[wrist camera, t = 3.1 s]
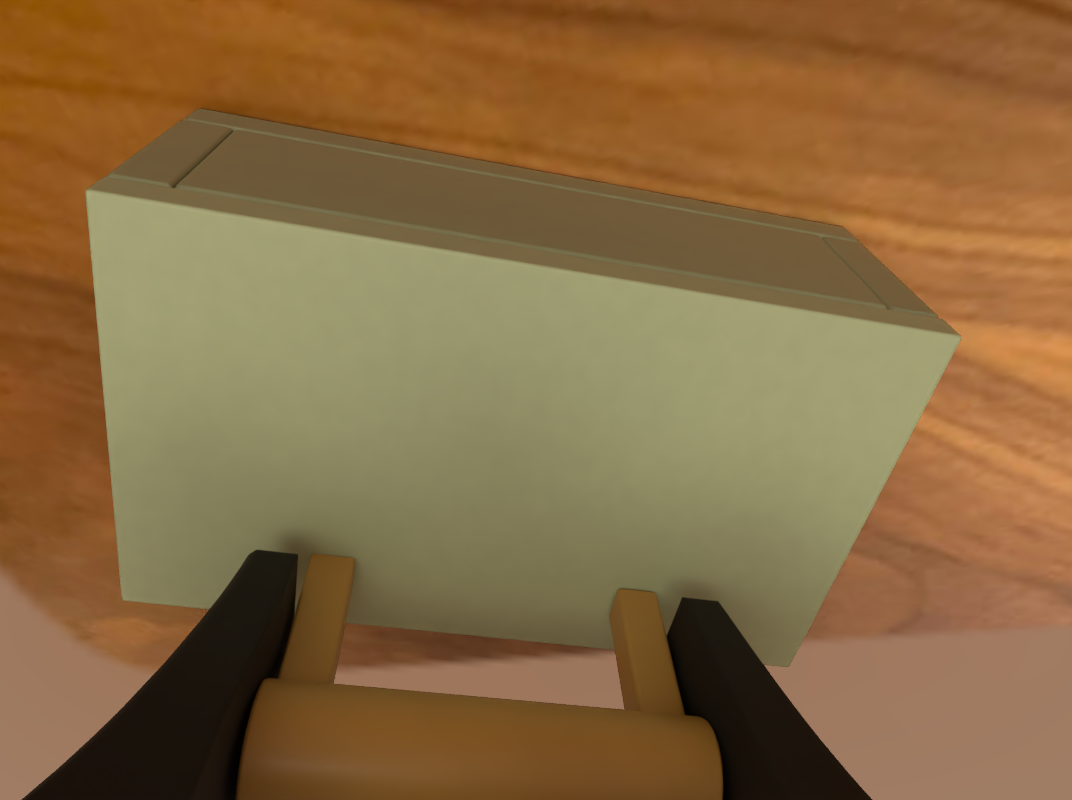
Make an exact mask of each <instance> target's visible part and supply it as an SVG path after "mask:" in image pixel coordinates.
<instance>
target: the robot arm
mask: <svg viewBox="0 0 1072 800" xmlns="http://www.w3.org/2000/svg"><path fill="white" fill-rule="evenodd" d="M297 566H298V554H292V553H283V552H274V551H265V550H255V551H253V552H252V553H250V554H249V555H248V556H247V558H246V559H245V561H244V562H243V564H242V566H241V567H240V569H239V570H238V571H237V573H236V574H235V576H234V577H233V579H232V580H231V582H230V583H229V584H228V586H227V587H226V588H225V590H224V591H223V592H222V594H221V595H220V596H219V598H218V599H217V600H216V602H215V603H214V604H213V605H212V607H211V608H210V609H209V611H208V612H207V613H206V614H205V616H204V617H203V618H202V619H201V621H200V622H199V623H198V624H197V625H196V627H195V628H194V629H193V630H192V631H191V633H190V634H189V635H188V636H187V637H186V638H185V640H184V641H183V642H182V643H181V644H180V646H179V647H178V648H177V649H176V650H175V651H174V653H173V654H172V655H171V656H170V657H169V658H168V660H167V661H166V662H165V663H164V664H163V665H162V666H161V667H160V668H159V669H158V671H157V672H156V673H155V674H154V675H153V676H152V677H151V678H150V679H149V680H148V681H147V682H146V683H145V684H144V685H143V686H142V688H141V689H140V690H139V691H138V692H137V693H136V694H135V695H134V696H133V697H132V698H131V699H130V700H129V701H128V702H127V703H126V705H125V706H124V707H123V708H122V709H121V710H120V711H119V712H118V713H117V714H116V715H115V716H114V717H113V718H112V719H111V720H110V721H109V722H108V723H107V724H105V725H104V727H102V728H101V729H100V730H99V731H98V732H97V733H96V734H95V735H94V736H93V737H92V738H91V739H90V740H89V741H88V742H87V743H86V744H85V745H83V747H81V748H80V749H79V750H78V751H77V752H76V753H75V754H74V755H72V757H70V758H69V759H68V760H67V761H66V762H65V763H64V764H63V765H62V766H60V767H59V768H58V769H57V770H56V771H55V772H54V773H52V774H51V775H50V776H49V777H48V778H46V779H45V780H44V781H43V782H42V783H41V784H39V785H38V786H37V787H36V788H35V789H34V790H32V791H31V792H30V793H29V794H28V795H27V796H25V797H24V798H23V799H22V800H235V796H236V783H237V775H238V768H239V762H240V756H241V750H242V745H243V740H244V736H245V731H246V727H247V722H248V718H249V715H250V711H251V707H252V704H253V701H254V698H255V695H256V692H257V690H258V688H259V686H260V684H261V682H262V681H263V680H264V679H267V678H275V679H278V675H279V671H280V667H281V664H282V660H283V656H284V653H285V649H286V645H287V641H288V638H289V634H290V630H291V627H292V623H293V619H294V614H295V598H296V582H297ZM667 641H668V645H669V649H670V653H671V657H672V662H673V666H674V670H675V674H676V678H677V683H678V687H679V691H680V695H681V699H682V704H683V708H684V712H685V715H688V716H699V717H702V718H703V719H705V720H707V721H708V722H709V724H710V725H711V726H712V728H713V730H714V732H715V735H716V738H717V741H718V744H719V749H720V754H721V760H722V769H723V800H872V799H871V798H870V797H869V796H868V795H867V793H865V791H864V790H863V789H862V788H861V787H860V786H859V785H858V783H857V782H856V781H855V780H854V779H853V778H852V777H851V776H850V774H849V773H848V772H847V771H846V770H845V769H844V767H843V766H842V765H841V764H840V763H839V761H838V760H837V759H836V758H835V757H834V755H833V754H832V753H831V752H830V751H829V749H828V748H827V747H826V746H825V745H824V744H823V742H822V741H821V740H820V739H819V737H818V736H817V735H816V734H815V732H814V731H813V730H812V729H811V727H810V726H809V725H808V724H807V722H806V721H805V720H804V718H803V717H802V716H801V715H800V713H799V712H798V711H797V709H796V708H795V707H794V705H793V704H792V703H791V702H790V700H789V699H788V697H787V696H786V695H785V694H784V692H783V691H782V689H781V688H780V687H779V685H778V684H777V683H776V682H775V680H774V679H773V677H772V676H771V675H770V673H769V672H768V671H767V669H766V667H765V666H764V665H763V663H762V662H761V661H760V659H759V658H758V656H757V655H756V654H755V652H754V651H753V649H752V648H751V646H750V645H749V644H748V642H747V641H746V639H745V638H744V637H743V635H742V634H741V632H740V631H739V630H738V628H737V627H736V625H735V624H734V622H733V621H732V620H731V618H730V617H729V615H728V614H727V613H726V611H725V610H724V608H723V607H722V606H721V604H720V603H719V601H712V600H703V599H694V598H685V597H682V599H681V601H680V604H679V606H678V609H677V611H676V614H675V616H674V619H673V621H672V624H671V626H670V629H669V631H668V634H667Z"/></svg>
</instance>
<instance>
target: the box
mask: <svg viewBox="0 0 1072 800" xmlns="http://www.w3.org/2000/svg"><path fill="white" fill-rule="evenodd" d="M108 177H111V178H117V179H123V180H129V181H135V182H141V183H147V184H152V185H158V186H164V187H170V188H176V189H182V190H188V191H194V192H199V193H205V194H211V195H217V196H223V197H229V198H235V199H241V200H246V201H252V202H258V203H264V204H270V205H276V206H282V207H288V208H293V209H299V210H305V211H311V212H317V213H323V214H329V215H335V216H340V217H346V218H352V219H358V220H364V221H370V222H376V223H381V224H387V225H393V226H399V227H405V228H411V229H417V230H423V231H428V232H434V233H440V234H446V235H452V236H458V237H464V238H470V239H475V240H481V241H487V242H493V243H499V244H505V245H511V246H517V247H522V248H528V249H534V250H540V251H546V252H552V253H558V254H564V255H569V256H575V257H581V258H587V259H593V260H599V261H605V262H610V263H616V264H622V265H628V266H634V267H640V268H646V269H652V270H657V271H663V272H669V273H675V274H681V275H687V276H693V277H699V278H704V279H710V280H716V281H722V282H728V283H734V284H740V285H746V286H751V287H757V288H763V289H769V290H775V291H781V292H787V293H793V294H798V295H804V296H810V297H816V298H822V299H828V300H834V301H839V302H845V303H851V304H857V305H863V306H869V307H875V308H881V309H886V310H892V311H898V312H904V313H910V314H916V315H922V316H928V317H933V318H938V317H937V315H936V314H935V313H934V312H933V311H932V310H931V309H930V308H929V307H928V306H927V305H926V304H925V303H924V302H923V301H922V300H921V299H920V298H918V297H917V296H916V295H915V294H914V293H913V292H912V291H911V290H910V289H909V288H908V287H907V286H906V285H905V284H904V283H903V282H902V281H901V280H899V279H898V278H897V277H896V276H895V275H894V274H893V273H892V272H891V271H890V270H889V269H888V268H887V267H886V266H885V265H884V264H883V263H881V262H880V261H879V260H878V259H877V258H876V257H875V256H874V255H873V254H872V253H871V252H870V251H869V250H868V249H867V248H866V247H865V246H863V245H862V244H861V243H859V241H858V240H857V239H856V238H855V237H854V236H853V235H852V234H851V233H850V232H849V231H847V230H846V229H845V228H844V227H840V226H834V225H829V224H824V223H818V222H813V221H807V220H802V219H796V218H791V217H786V216H780V215H775V214H769V213H764V212H759V211H753V210H748V209H742V208H737V207H731V206H726V205H721V204H715V203H710V202H704V201H699V200H694V199H688V198H683V197H677V196H672V195H666V194H661V193H656V192H650V191H645V190H639V189H634V188H628V187H623V186H618V185H612V184H607V183H601V182H596V181H591V180H585V179H580V178H574V177H569V176H563V175H558V174H553V173H547V172H542V171H536V170H531V169H525V168H520V167H515V166H509V165H504V164H498V163H493V162H488V161H482V160H477V159H471V158H466V157H460V156H455V155H450V154H444V153H439V152H433V151H428V150H423V149H417V148H412V147H406V146H401V145H395V144H390V143H385V142H379V141H374V140H368V139H363V138H357V137H352V136H347V135H341V134H336V133H330V132H325V131H320V130H314V129H309V128H303V127H298V126H292V125H287V124H282V123H276V122H271V121H265V120H260V119H254V118H249V117H244V116H238V115H233V114H227V113H222V112H217V111H211V110H206V109H197V110H196V111H194V112H193V113H192V114H190V115H189V116H188V117H186V118H185V119H184V120H181V121H179V122H178V123H177V124H175V125H174V126H173V127H171V128H170V129H169V130H167V131H166V132H165V133H163V134H162V135H161V136H159V137H158V138H156V139H155V140H154V141H152V142H151V143H150V144H148V145H147V146H146V147H144V148H143V149H142V150H140V151H139V152H138V153H136V154H135V155H133V156H132V157H131V158H129V159H128V160H127V161H125V162H124V163H123V164H121V165H120V166H119V167H117V168H116V169H115V170H113V171H112V172H111V173H109V175H108Z"/></svg>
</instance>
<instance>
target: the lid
mask: <svg viewBox="0 0 1072 800" xmlns="http://www.w3.org/2000/svg"><path fill="white" fill-rule="evenodd" d="M86 203H87V215H88V226H89V237H90V248H91V259H92V270H93V282H94V293H95V304H96V315H97V326H98V338H99V349H100V360H101V371H102V382H103V393H104V405H105V416H106V427H107V438H108V449H109V460H110V472H111V483H112V494H113V505H114V516H115V528H116V539H117V550H118V561H119V572H120V583H121V595H122V600H124V601H133V602H142V603H152V604H162V605H172V606H182V607H192V608H202V609H210V608H211V607H212V605H213V604H214V603H215V602H216V600H217V599H218V598H219V596H220V595H221V594H222V592H223V591H224V590H225V588H226V587H227V586H228V584H229V583H230V582H231V580H232V579H233V577H234V576H235V574H236V573H237V571H238V570H239V569H240V567H241V566H242V564H243V562H244V561H245V559H246V558H247V556H248V555H249V554H250V553H252V552H253V551H255V550H265V551H274V552H283V553H292V554H298V566H297V582H296V598H295V614H294V619H293V623H292V627H291V630H290V634H289V638H288V641H287V645H286V649H285V653H284V656H283V660H282V664H281V667H280V671H279V675H278V679H275V678H267V679H264V680H263V681H262V682H261V684H260V686H259V688H258V690H257V692H256V695H255V698H254V701H253V704H252V707H251V711H250V715H249V718H248V722H247V727H246V731H245V736H244V740H243V745H242V750H241V756H240V762H239V768H238V775H237V783H236V796H235V800H723V769H722V760H721V754H720V749H719V744H718V741H717V738H716V735H715V732H714V730H713V728H712V726H711V725H710V724H709V722H708V721H707V720H705V719H703V718H702V717H699V716H688V715H685V712H684V708H683V704H682V699H681V695H680V691H679V687H678V683H677V678H676V674H675V670H674V666H673V662H672V657H671V653H670V649H669V645H668V641H667V634H668V631H669V629H670V626H671V624H672V621H673V619H674V616H675V614H676V611H677V609H678V606H679V604H680V601H681V599H682V597H685V598H694V599H703V600H712V601H719V603H720V604H721V606H722V607H723V608H724V610H725V611H726V613H727V614H728V615H729V617H730V618H731V620H732V621H733V622H734V624H735V625H736V627H737V628H738V630H739V631H740V632H741V634H742V635H743V637H744V638H745V639H746V641H747V642H748V644H749V645H750V646H751V648H752V649H753V651H754V652H755V654H756V655H757V656H758V658H759V659H760V661H761V662H762V663H763V665H772V666H782V667H789V666H790V664H791V662H792V660H793V658H794V656H795V655H796V653H797V651H798V649H799V647H800V645H801V643H802V641H803V639H804V637H805V635H806V634H807V632H808V630H809V628H810V626H811V624H812V622H813V620H814V618H815V616H816V615H817V613H818V611H819V609H820V607H821V605H822V603H823V601H824V599H825V597H826V595H827V594H828V592H829V590H830V588H831V586H832V584H833V582H834V580H835V578H836V576H837V575H838V573H839V571H840V569H841V567H842V565H843V563H844V561H845V559H846V557H847V556H848V554H849V552H850V550H851V548H852V546H853V544H854V542H855V540H856V538H857V536H858V535H859V533H860V531H861V529H862V527H863V525H864V523H865V521H866V519H867V517H868V516H869V514H870V512H871V510H872V508H873V506H874V504H875V502H876V500H877V498H878V496H879V495H880V493H881V491H882V489H883V487H884V485H885V483H886V481H887V479H888V477H889V476H890V474H891V472H892V470H893V468H894V466H895V464H896V462H897V460H898V458H899V457H900V455H901V453H902V451H903V449H904V447H905V445H906V443H907V441H908V439H909V437H910V436H911V434H912V432H913V430H914V428H915V426H916V424H917V422H918V420H919V418H920V417H921V415H922V413H923V411H924V409H925V407H926V405H927V403H928V401H929V399H930V398H931V396H932V394H933V392H934V390H935V388H936V386H937V384H938V382H939V380H940V378H941V377H942V375H943V373H944V371H945V369H946V367H947V365H948V363H949V361H950V359H951V358H952V356H953V354H954V352H955V350H956V348H957V346H958V344H959V342H960V340H961V336H960V335H959V334H958V333H957V332H956V331H955V330H954V329H953V328H952V327H951V326H950V325H949V324H948V323H946V322H945V321H944V320H943V319H939V318H933V317H928V316H922V315H916V314H910V313H904V312H898V311H892V310H886V309H881V308H875V307H869V306H863V305H857V304H851V303H845V302H839V301H834V300H828V299H822V298H816V297H810V296H804V295H798V294H793V293H787V292H781V291H775V290H769V289H763V288H757V287H751V286H746V285H740V284H734V283H728V282H722V281H716V280H710V279H704V278H699V277H693V276H687V275H681V274H675V273H669V272H663V271H657V270H652V269H646V268H640V267H634V266H628V265H622V264H616V263H610V262H605V261H599V260H593V259H587V258H581V257H575V256H569V255H564V254H558V253H552V252H546V251H540V250H534V249H528V248H522V247H517V246H511V245H505V244H499V243H493V242H487V241H481V240H475V239H470V238H464V237H458V236H452V235H446V234H440V233H434V232H428V231H423V230H417V229H411V228H405V227H399V226H393V225H387V224H381V223H376V222H370V221H364V220H358V219H352V218H346V217H340V216H335V215H329V214H323V213H317V212H311V211H305V210H299V209H293V208H288V207H282V206H276V205H270V204H264V203H258V202H252V201H246V200H241V199H235V198H229V197H223V196H217V195H211V194H205V193H199V192H194V191H188V190H182V189H176V188H170V187H164V186H158V185H152V184H147V183H141V182H135V181H129V180H123V179H117V178H111V177H103V178H102V179H100V180H99V181H98V182H96V183H95V184H93V185H92V186H91V187H89V188H88V189H87V190H86ZM345 623H352V624H362V625H372V626H382V627H392V628H402V629H412V630H422V631H432V632H442V633H452V634H462V635H472V636H482V637H492V638H502V639H512V640H522V641H532V642H542V643H552V644H562V645H572V646H582V647H592V648H602V649H612V650H615V654H616V660H617V666H618V672H619V678H620V684H621V690H622V696H623V702H624V708H625V710H621V709H610V708H599V707H588V706H576V705H566V704H554V703H542V702H532V701H521V700H510V699H499V698H487V697H476V696H465V695H454V694H453V695H452V694H442V693H431V692H420V691H409V690H398V689H397V690H396V689H386V688H376V687H364V686H352V685H342V684H334V679H335V674H336V669H337V664H338V659H339V653H340V648H341V643H342V638H343V633H344V628H345Z"/></svg>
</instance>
